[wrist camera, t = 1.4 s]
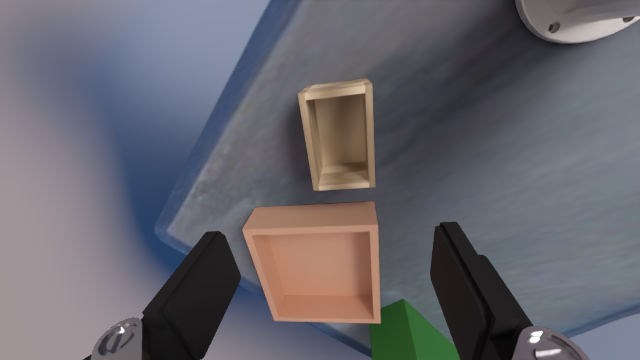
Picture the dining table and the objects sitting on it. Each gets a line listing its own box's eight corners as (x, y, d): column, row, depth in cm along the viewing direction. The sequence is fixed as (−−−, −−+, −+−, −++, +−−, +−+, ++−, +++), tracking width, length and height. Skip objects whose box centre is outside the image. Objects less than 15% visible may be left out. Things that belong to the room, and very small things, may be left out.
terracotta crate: (374, 201, 32) (378, 224, 28) (377, 294, 41) (380, 323, 37) (255, 207, 35) (241, 229, 31) (281, 293, 44) (274, 320, 39)
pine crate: (367, 78, 26) (372, 84, 20) (370, 163, 30) (375, 187, 25) (307, 85, 27) (297, 94, 21) (319, 167, 31) (313, 190, 26)
